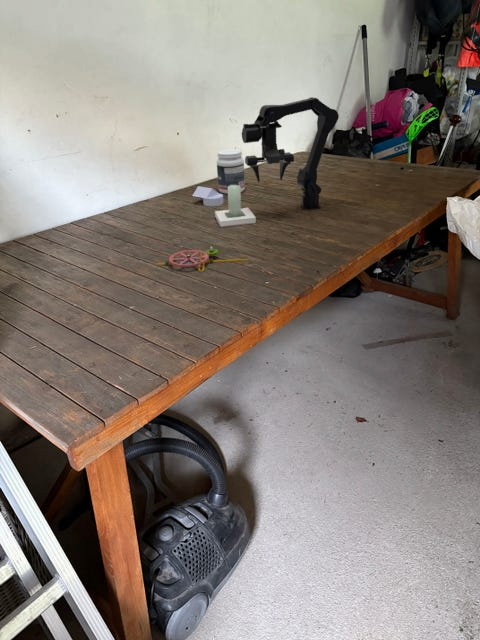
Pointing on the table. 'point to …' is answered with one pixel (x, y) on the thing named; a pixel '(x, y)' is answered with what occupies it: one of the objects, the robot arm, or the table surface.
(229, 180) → the supplement tub
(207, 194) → the wedge on round base
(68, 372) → the table surface
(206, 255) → the mechanical gear assembly
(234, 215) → the green post
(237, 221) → the socket block
